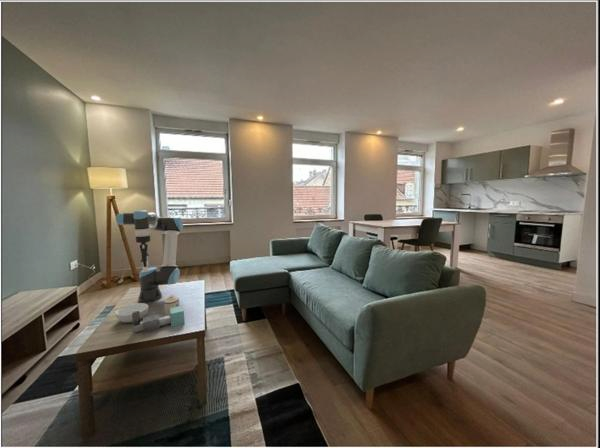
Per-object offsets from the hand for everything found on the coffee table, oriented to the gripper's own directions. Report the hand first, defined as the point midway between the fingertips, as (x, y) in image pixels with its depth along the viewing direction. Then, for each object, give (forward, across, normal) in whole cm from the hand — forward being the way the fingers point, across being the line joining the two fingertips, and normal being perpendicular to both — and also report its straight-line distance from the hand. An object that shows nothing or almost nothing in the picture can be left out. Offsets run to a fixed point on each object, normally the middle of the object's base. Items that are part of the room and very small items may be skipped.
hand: (145, 268), depth 151 cm
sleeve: (+32, +17, +1) cm, 36 cm away
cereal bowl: (+32, -2, -9) cm, 33 cm away
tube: (+31, +17, +4) cm, 35 cm away
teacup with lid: (+32, 0, +13) cm, 35 cm away
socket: (+32, +17, +14) cm, 39 cm away
